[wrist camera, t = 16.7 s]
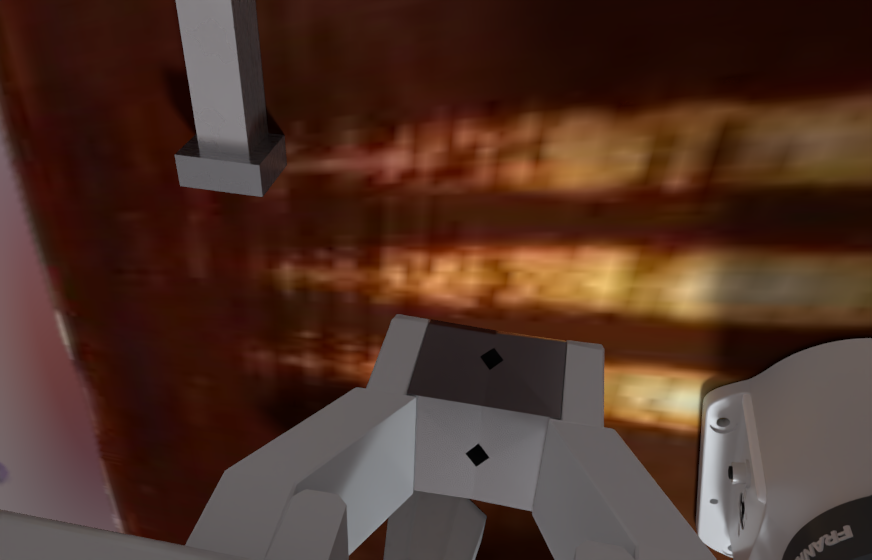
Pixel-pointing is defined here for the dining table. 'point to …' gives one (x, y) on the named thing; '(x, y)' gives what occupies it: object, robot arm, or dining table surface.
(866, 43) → the dining table surface
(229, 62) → the slide rail
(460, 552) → the coffee maker
